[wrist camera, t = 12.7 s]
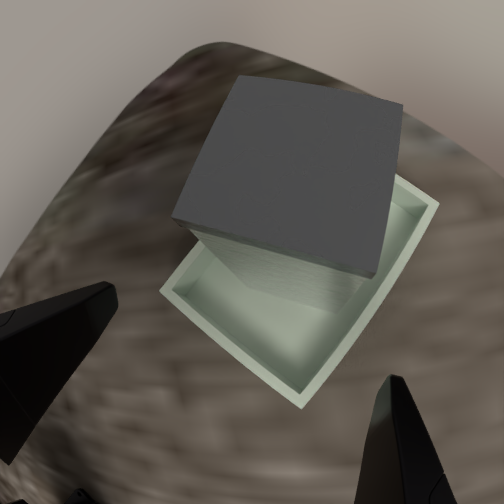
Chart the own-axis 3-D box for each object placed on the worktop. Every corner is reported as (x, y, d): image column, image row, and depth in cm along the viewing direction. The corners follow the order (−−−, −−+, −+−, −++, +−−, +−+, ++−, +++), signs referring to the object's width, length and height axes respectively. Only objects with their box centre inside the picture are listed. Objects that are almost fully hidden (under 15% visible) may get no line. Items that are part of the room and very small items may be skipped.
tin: (337, 316, 19) (376, 273, 8) (245, 288, 21) (170, 216, 10) (361, 226, 21) (402, 104, 9) (274, 204, 22) (238, 75, 11)
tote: (302, 400, 19) (301, 409, 16) (177, 298, 22) (158, 290, 19) (425, 220, 21) (439, 203, 18) (303, 144, 24) (301, 120, 21)
